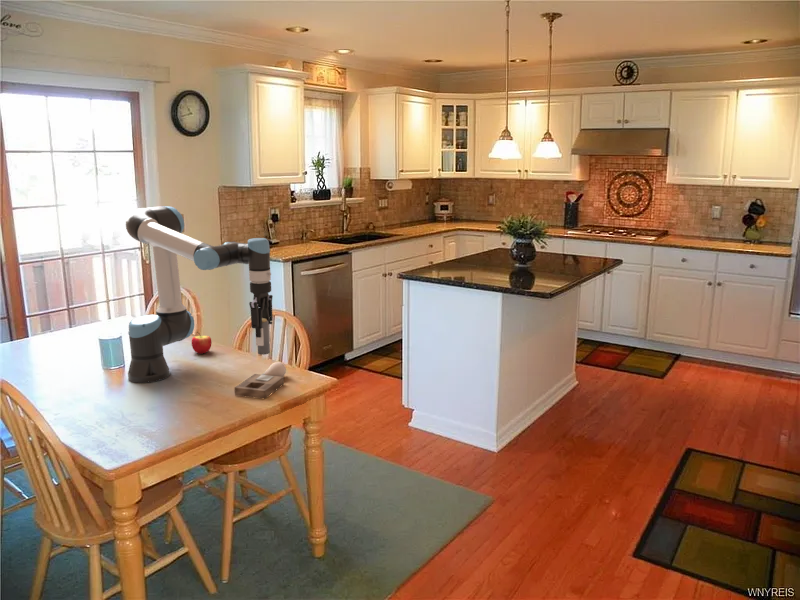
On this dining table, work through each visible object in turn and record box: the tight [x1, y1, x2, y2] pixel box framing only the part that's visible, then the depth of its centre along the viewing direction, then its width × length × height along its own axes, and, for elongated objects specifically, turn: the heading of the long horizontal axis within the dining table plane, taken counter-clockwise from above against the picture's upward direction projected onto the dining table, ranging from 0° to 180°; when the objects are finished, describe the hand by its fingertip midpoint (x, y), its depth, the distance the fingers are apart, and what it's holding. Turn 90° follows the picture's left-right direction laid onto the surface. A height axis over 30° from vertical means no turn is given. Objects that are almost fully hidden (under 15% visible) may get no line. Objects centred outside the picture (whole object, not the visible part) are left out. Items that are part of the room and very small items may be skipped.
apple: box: [191, 331, 213, 355], centre depth 277 cm, size 8×8×10 cm
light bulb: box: [261, 361, 287, 378], centre depth 247 cm, size 7×7×11 cm
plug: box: [256, 318, 271, 356], centre depth 235 cm, size 4×4×13 cm
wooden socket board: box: [234, 373, 285, 400], centre depth 236 cm, size 12×15×3 cm
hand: (263, 343), depth 236 cm, fingers closed on plug, 4 cm apart
